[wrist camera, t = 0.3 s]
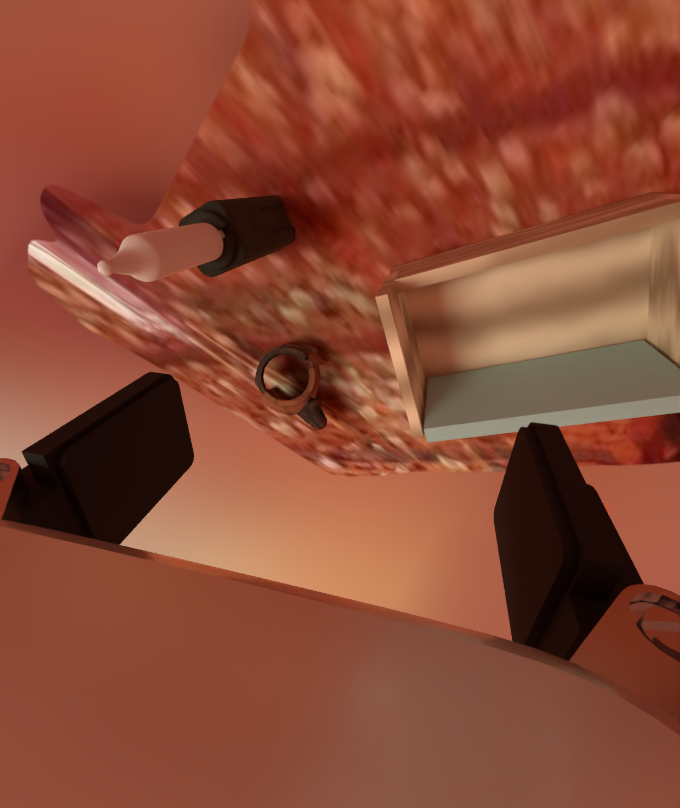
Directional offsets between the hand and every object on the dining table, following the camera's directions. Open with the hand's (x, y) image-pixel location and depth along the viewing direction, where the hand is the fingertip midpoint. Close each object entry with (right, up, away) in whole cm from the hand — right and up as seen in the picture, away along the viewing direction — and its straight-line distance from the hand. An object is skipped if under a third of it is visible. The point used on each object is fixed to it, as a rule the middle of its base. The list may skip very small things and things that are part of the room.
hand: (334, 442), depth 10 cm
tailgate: (+20, +4, +30) cm, 37 cm away
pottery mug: (-5, +4, +42) cm, 42 cm away
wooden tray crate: (+19, +12, +30) cm, 37 cm away
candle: (-8, +21, +32) cm, 39 cm away
